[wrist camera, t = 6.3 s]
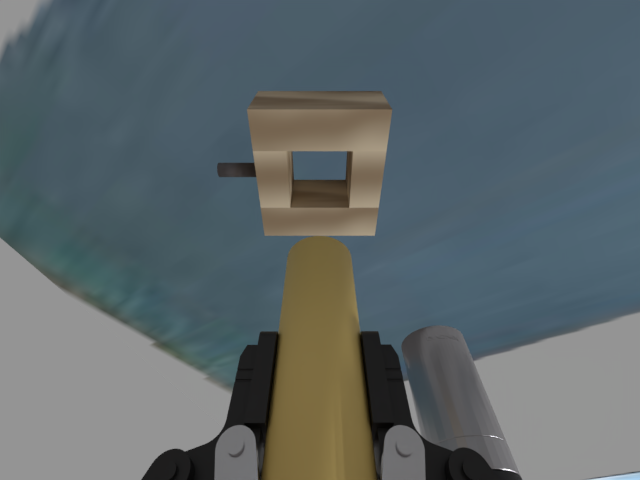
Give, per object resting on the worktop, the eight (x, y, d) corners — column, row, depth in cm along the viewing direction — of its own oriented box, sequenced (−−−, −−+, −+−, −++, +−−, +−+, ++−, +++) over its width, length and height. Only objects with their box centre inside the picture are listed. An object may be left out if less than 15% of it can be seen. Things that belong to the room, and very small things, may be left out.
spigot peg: (349, 283, 19) (390, 694, 8) (289, 283, 19) (246, 694, 8) (353, 235, 17) (419, 719, 6) (285, 235, 16) (217, 719, 6)
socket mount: (368, 205, 32) (374, 235, 28) (237, 205, 32) (225, 235, 28) (381, 91, 25) (392, 109, 22) (215, 90, 25) (196, 109, 22)
